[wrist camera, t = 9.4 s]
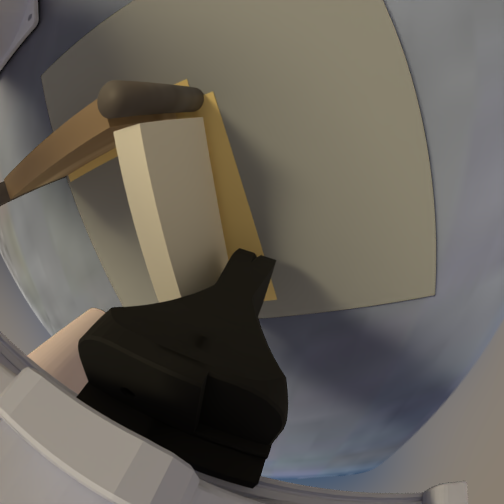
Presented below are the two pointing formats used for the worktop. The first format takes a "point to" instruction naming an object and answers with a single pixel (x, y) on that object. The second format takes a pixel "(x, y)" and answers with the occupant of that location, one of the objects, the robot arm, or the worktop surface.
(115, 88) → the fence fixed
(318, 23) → the mat
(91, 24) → the worktop surface
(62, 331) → the smoothie
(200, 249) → the fence panel
